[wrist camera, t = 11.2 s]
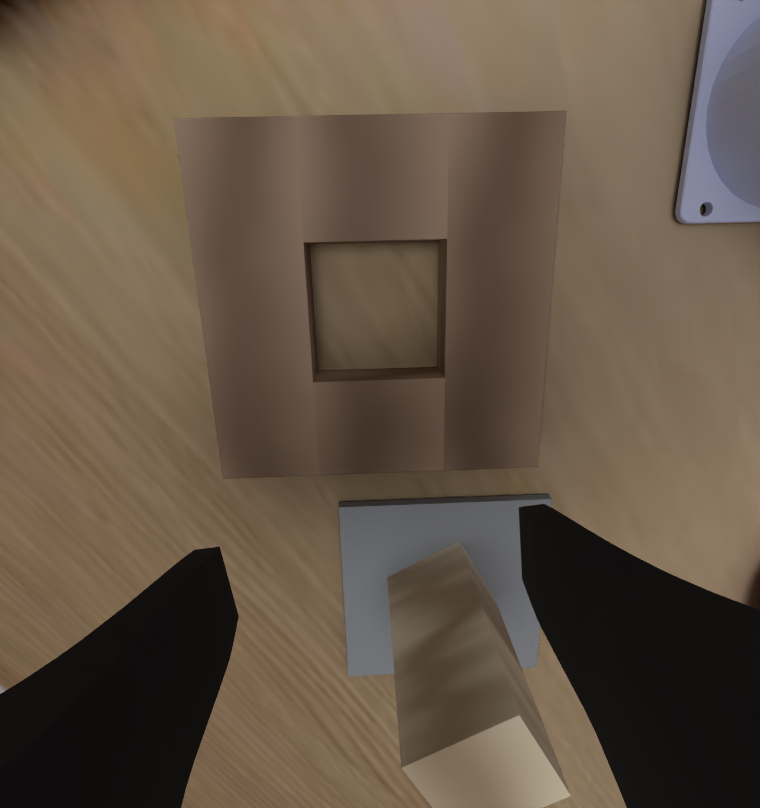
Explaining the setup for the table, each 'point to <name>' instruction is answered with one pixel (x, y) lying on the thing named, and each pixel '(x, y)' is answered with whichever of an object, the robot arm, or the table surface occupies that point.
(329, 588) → the table surface
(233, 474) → the brown square hole board
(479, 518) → the pad
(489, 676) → the maple plug
